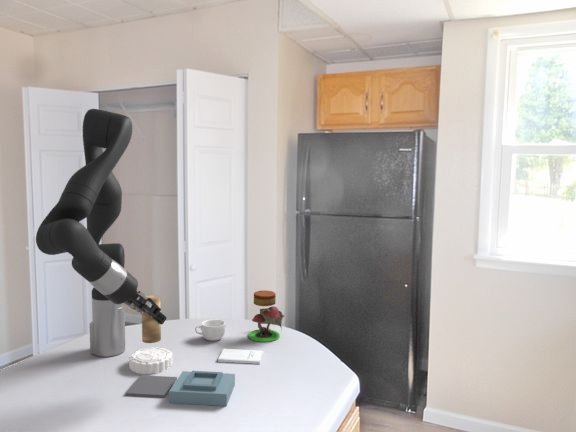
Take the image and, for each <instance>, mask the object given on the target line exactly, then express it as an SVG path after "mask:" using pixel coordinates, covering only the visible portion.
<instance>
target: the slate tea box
mask: <svg viewBox="0 0 576 432" xmlns="http://www.w3.org/2000/svg"><path fill="white" fill-rule="evenodd" d="M235 386H236V373H224V372H222V371H210V370H209V371H207V370H203V371H202V370H191V371H181V373H180V375H179V376H178V377H177V380H176V381H175V383H174V384H173V386H172V387H171V389H170V390H169V392H168V394H169V395H168V398H169V400H168V401H169V402H168V403H169V404H180V405H183V404H185V405H199V406H200V405H201V406H220V407H227V406H228V403H229V401H230V399H231V396H232V393H233V390H234V388H235Z"/></svg>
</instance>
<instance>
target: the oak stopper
mask: <svg viewBox="0 0 576 432" xmlns="http://www.w3.org/2000/svg"><path fill="white" fill-rule="evenodd" d="M145 297H147V298H151V299H152V300H153V301H154V302H155V303H156V305H157V306H158V307H159V308H160V309H161V311H160V312H161V313H162V308H161V304H162V301H161V299H162V298H161V296H160V295H154V294H153V295H151V294H150V295H145ZM143 309H144V308H142V310H143ZM141 340H142V342H143V343H145V344H155V343H158V342H161V340H162V325H161V324H159V323H158V322H157V321H156V320H154V319H153V318H152V317H150V316H149V315H148V314H146V313H142V314H141Z"/></svg>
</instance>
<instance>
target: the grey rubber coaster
mask: <svg viewBox="0 0 576 432" xmlns="http://www.w3.org/2000/svg"><path fill="white" fill-rule="evenodd" d="M177 379H178V377H177V376H168V375H167V376H166V375H165V376H162V375H148V374H140V375H139V377H137V379H136V380H135V381H134V382H133V383H132V384H131V386H130V387H129V388H128V390H126V392H125V393H124V394H125V396H130V397H150V398H166V396H167V395H168V394H169V391H170V389H171V388H172V386H173V385H174V383H175V382H176V380H177Z"/></svg>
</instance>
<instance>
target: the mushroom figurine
mask: <svg viewBox="0 0 576 432" xmlns="http://www.w3.org/2000/svg"><path fill="white" fill-rule="evenodd" d="M276 298H277V295H276V292H274V291H272V290H258V291H254V293H253V304H254V305H255V306H258V307H267V308H259V313H258V314H255V315H254V317H253V318H252V320H251V321H252V322H253V323H254V322H255V323H257V328H258V329H255V330H251V331H250V332H248V338H249V340H252V341H253V342H257V343H259V342H260V343H269V342H270V343H271V342H274V341H277V340H279V339H280V337H281V336H280V335H281V334H280V332H278V331H277V330H274V329H271V328H270V326H271V325H272V326H273V325H275V326H279V327H280V329H281V330H280V331H281V332H282V330H283V327H282V326H283V318H284V317H285V315H284V314H283V313H282V311H281V310H279V308H278V307H277V306H274V305H275V304H276ZM262 325H266V326H262Z"/></svg>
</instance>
